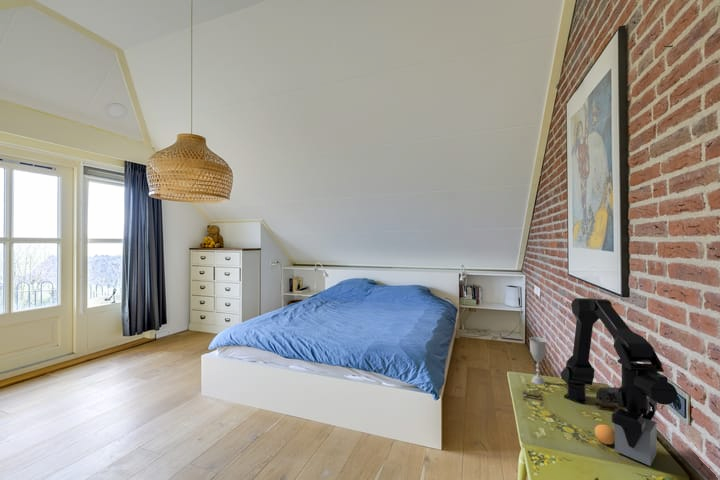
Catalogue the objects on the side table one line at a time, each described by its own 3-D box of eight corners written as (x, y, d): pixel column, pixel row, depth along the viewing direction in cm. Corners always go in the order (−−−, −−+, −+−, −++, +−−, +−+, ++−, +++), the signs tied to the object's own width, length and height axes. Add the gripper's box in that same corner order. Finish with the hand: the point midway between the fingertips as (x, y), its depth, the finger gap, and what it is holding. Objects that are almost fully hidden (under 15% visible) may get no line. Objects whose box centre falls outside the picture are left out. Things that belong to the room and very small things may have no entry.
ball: (597, 435, 96) (597, 419, 96) (618, 443, 92) (618, 426, 92) (592, 441, 93) (592, 424, 93) (613, 450, 89) (613, 433, 89)
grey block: (622, 440, 92) (622, 410, 92) (656, 453, 86) (656, 422, 86) (614, 450, 88) (614, 419, 87) (650, 465, 82) (650, 432, 82)
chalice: (550, 386, 127) (550, 342, 127) (532, 385, 129) (531, 341, 129) (543, 378, 135) (543, 337, 135) (526, 377, 136) (526, 336, 136)
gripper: (609, 367, 99) (609, 416, 99) (588, 384, 87) (589, 440, 88) (657, 380, 90) (657, 433, 90) (641, 401, 79) (641, 462, 79)
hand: (635, 441), depth 87 cm, fingers closed on grey block, 7 cm apart
